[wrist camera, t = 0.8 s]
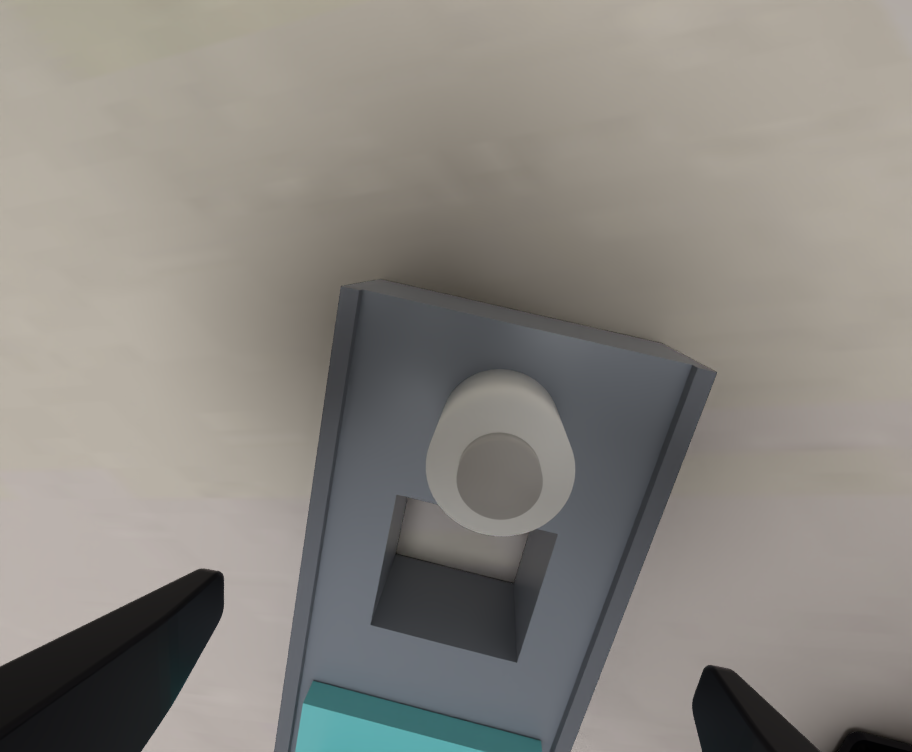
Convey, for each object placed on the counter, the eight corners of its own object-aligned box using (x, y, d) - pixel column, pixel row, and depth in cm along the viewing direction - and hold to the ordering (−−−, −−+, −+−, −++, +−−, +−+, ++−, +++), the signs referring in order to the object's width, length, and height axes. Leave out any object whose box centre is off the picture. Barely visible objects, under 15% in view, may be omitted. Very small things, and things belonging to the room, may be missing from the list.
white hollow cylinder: (573, 384, 15) (599, 428, 11) (541, 491, 16) (554, 565, 12) (455, 356, 15) (438, 390, 11) (431, 464, 16) (409, 529, 12)
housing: (662, 343, 19) (717, 372, 14) (516, 766, 25) (519, 883, 20) (380, 279, 19) (340, 286, 14) (308, 710, 26) (265, 813, 21)
